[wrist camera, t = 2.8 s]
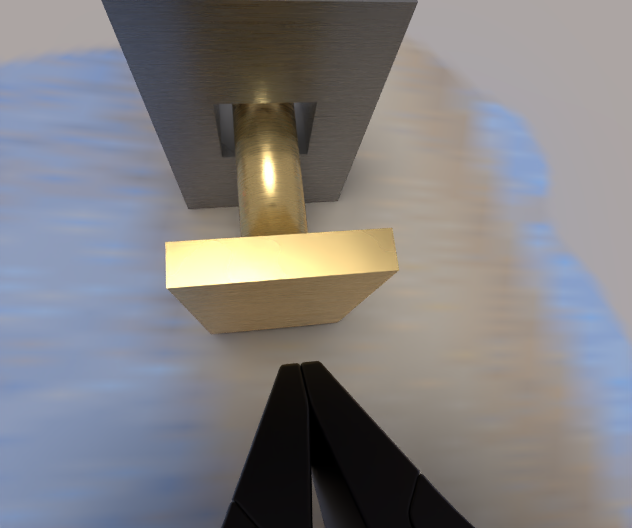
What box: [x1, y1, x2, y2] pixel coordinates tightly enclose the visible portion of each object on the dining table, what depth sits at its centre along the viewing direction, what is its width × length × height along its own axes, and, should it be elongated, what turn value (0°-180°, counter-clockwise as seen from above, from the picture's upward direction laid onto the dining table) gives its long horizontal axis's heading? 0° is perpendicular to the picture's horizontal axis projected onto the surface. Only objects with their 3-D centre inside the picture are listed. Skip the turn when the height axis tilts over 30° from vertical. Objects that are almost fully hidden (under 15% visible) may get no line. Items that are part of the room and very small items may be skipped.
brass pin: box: [166, 103, 399, 334], centre depth 17 cm, size 10×6×10 cm, turn 6°
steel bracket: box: [102, 0, 418, 209], centre depth 18 cm, size 3×8×13 cm, turn 96°
